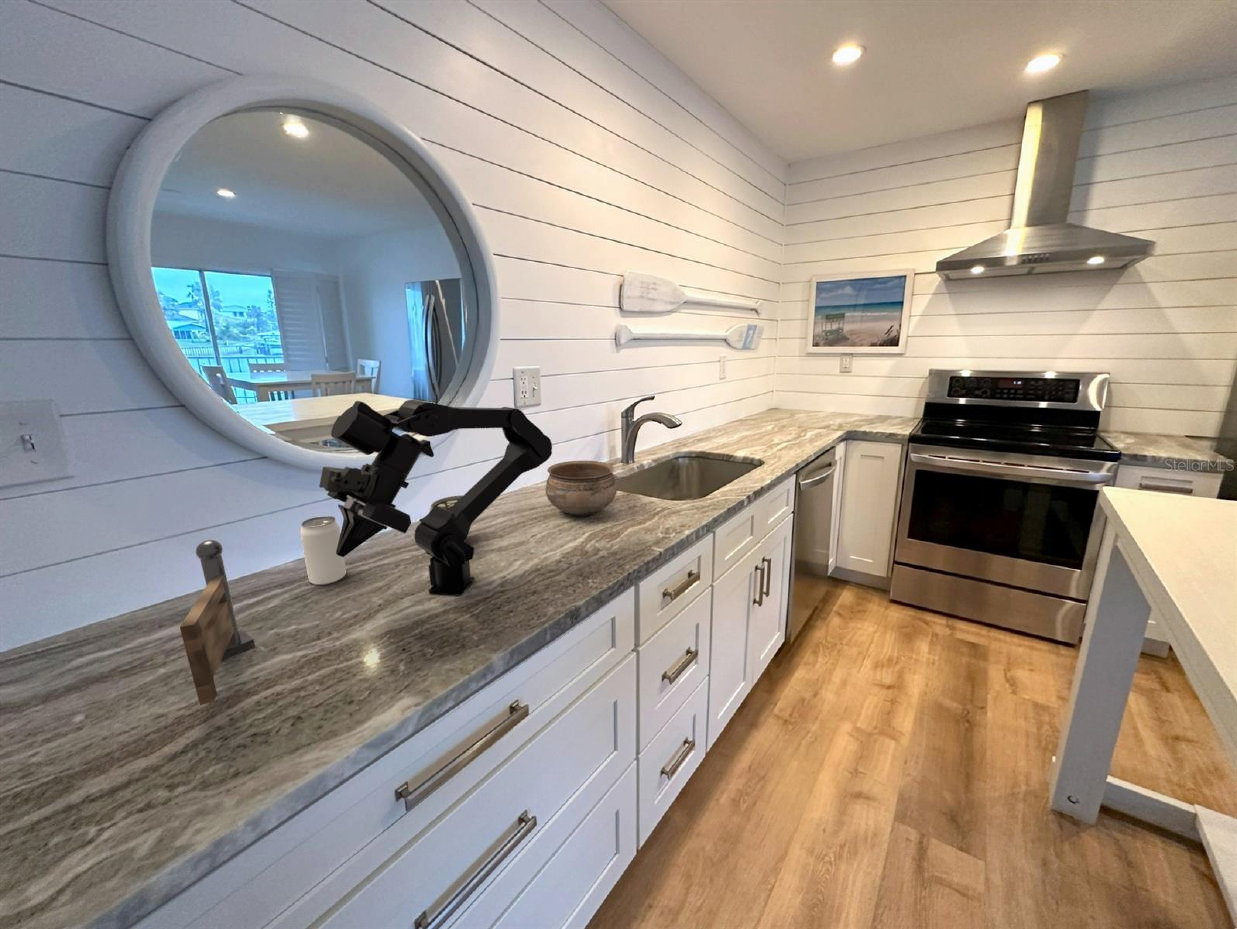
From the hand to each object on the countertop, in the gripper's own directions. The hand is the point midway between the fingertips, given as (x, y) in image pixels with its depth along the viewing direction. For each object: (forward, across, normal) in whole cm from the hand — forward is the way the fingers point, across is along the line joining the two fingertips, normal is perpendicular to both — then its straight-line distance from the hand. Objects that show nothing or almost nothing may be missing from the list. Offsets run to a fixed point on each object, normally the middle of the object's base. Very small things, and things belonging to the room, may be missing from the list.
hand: (339, 555), depth 77 cm
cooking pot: (-29, -12, +57) cm, 65 cm away
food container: (-7, -19, +30) cm, 36 cm away
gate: (+19, +1, -6) cm, 20 cm away
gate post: (+19, -8, -3) cm, 21 cm away
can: (+8, -22, +11) cm, 26 cm away
